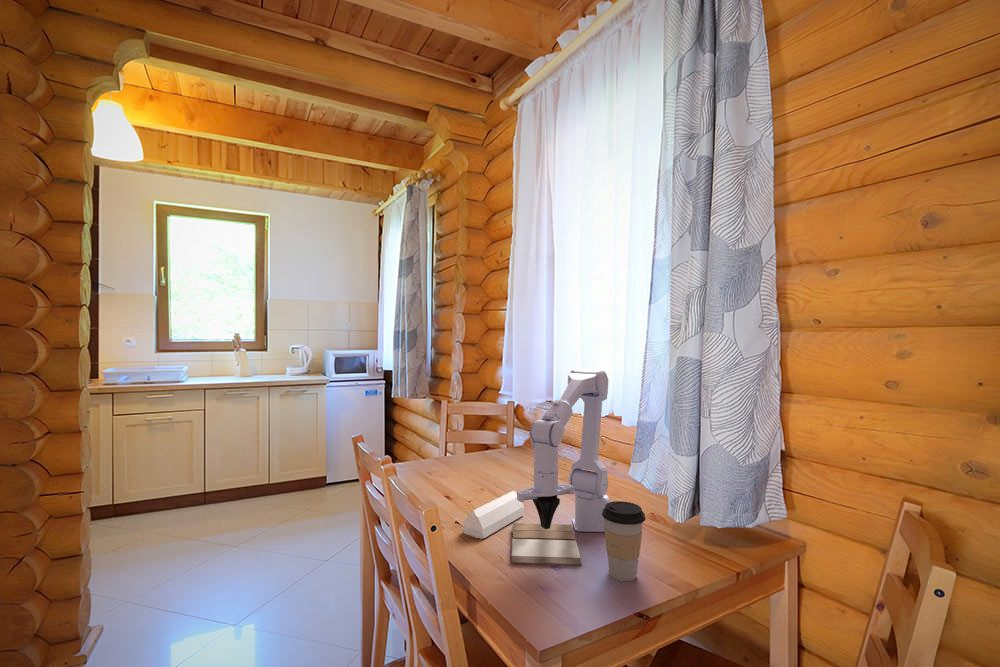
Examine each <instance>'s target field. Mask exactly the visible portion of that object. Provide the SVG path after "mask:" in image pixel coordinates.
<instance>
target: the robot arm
mask: <svg viewBox="0 0 1000 667" xmlns="http://www.w3.org/2000/svg"><path fill="white" fill-rule="evenodd" d="M608 391H609V377H608V375H607V373H606V371H605V370H603V369H600V370H599V369H596V370H595V369H578V368H572V369H571V370H570V371H569V373H568V375H567V386H566V388H565V390H564V392H563V393H562V396H561V397H560V399H555V400H554V401H553V402H552V403H551V405H550V406H549V408H548V409H547V410H546V411H545V413H544V414H543V415H542V417H541V419H537V420H535V421H534V422H532V424H531V426H530V429H529V434H528V436H529V440H530V442H531V449H532V451H533V452H534V453H533V457H534V458H533V459H534V460H533V486H532V487H530V488H527V489H523V490H519V491H518V490H517V491H516V493H517V500H518V501H520V502H523V503H524V502H525V501H529V500H532V501H533V504H534V506H535V508H536V511H537V514H538V517H539V518H538V519H539V523H540V524H541V527H543V528H544V529H550V526H551V524H552V521H553V519H554V518H553V517H554V515H555V512H556V510H557V509H558V507H559V505H560V502H561V499H560V498H559V497H558V496H564V495H571V496H572V495H574V496H575V497H574V506H575V507H574V518H571V519H572V520H571V521H572V524H573V525H572V526H573V529H574V531H575V532H586V533H588V532H591V533H605V531H604V525H605V523H604V517H603V516H602V513H603V509H604V508H605V506H606V504H607V503H609V502H610V498H609V496H608V494H606V493H607V491H608V489H609V488H608V487H609V479H608V468H607V467H606V466H605V465H604V463H602V462H601V461H600V460H599V451H600V450H599V449H600V440H601V439H600V437H601V423H602V410H603V409H602V408H603V402H604V401H606V400H607V399H608V394H609V393H608ZM579 399H582V401H583V403H584V404H583V406H584V407H583V417H582V430H581V440H580V442H581V443H580V454H579V455H580V456H579V459H577V460H576V461H574V462H573V463H572V464H571V468H570V472H569V476H568V484H567V483H566V484H559V445H560V444H561V443H562V442H563V438H564V433H565V430H566V429H565V427H566V425H567V423H568V422H569V420H570V419H571V417H572V416H573V413H574V412H573V406H574V405H576V403H577V402H578V401H579Z"/></svg>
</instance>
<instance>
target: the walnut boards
mask: <svg viewBox="0 0 1000 667" xmlns="http://www.w3.org/2000/svg"><path fill="white" fill-rule="evenodd" d="M512 526H513V537H512V536H511V540H512V539H537V540H574V541H576V535H575V532H574V527H573V525H572V524H561V523H559V524H558V523H556V524H555V523H554V524H553V523H551V526H550V529H544V528H543V527H541V523H525V522H524V523H522V522H521V523H520V522H513V523H512Z"/></svg>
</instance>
